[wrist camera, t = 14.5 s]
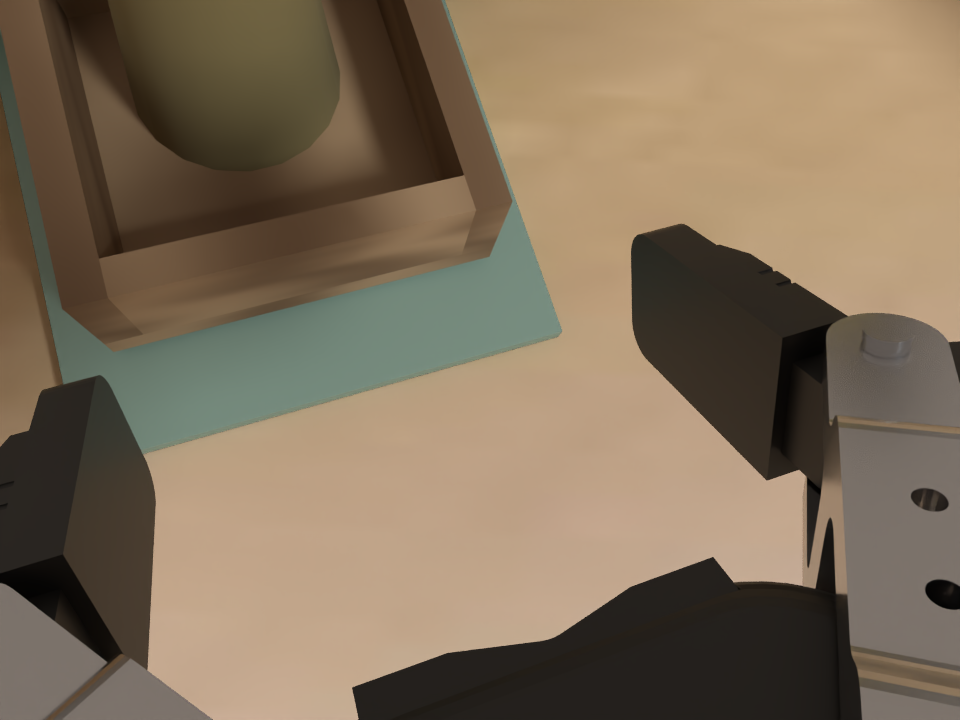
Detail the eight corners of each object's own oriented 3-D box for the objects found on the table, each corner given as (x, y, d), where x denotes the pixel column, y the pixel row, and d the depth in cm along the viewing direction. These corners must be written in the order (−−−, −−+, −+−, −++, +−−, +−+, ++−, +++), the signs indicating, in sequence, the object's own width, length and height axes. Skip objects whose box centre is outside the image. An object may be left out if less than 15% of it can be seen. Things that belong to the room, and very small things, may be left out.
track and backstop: (461, -96, 28) (479, -219, 23) (615, 320, 25) (670, 268, 20) (-88, -13, 24) (-190, -143, 20) (11, 491, 21) (-84, 473, 16)
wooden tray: (386, -44, 26) (390, -143, 22) (489, 256, 24) (512, 201, 20) (35, 13, 23) (-25, -87, 20) (113, 351, 21) (61, 308, 18)
